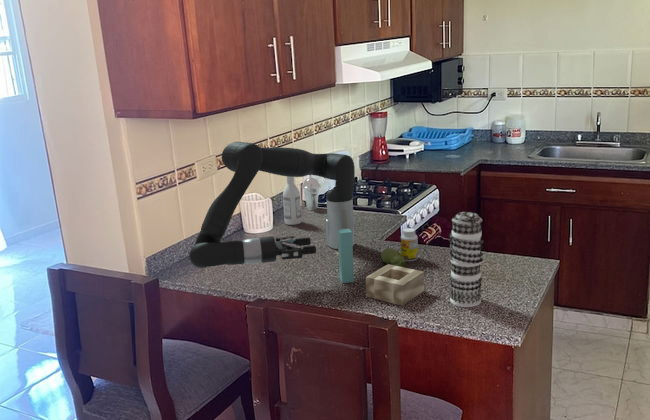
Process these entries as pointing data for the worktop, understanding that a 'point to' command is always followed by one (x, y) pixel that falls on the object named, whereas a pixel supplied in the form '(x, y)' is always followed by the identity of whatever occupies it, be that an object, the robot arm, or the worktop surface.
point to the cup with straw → (311, 192)
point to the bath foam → (291, 203)
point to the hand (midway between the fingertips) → (312, 245)
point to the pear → (393, 257)
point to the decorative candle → (466, 259)
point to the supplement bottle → (409, 245)
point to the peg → (345, 255)
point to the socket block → (395, 284)
